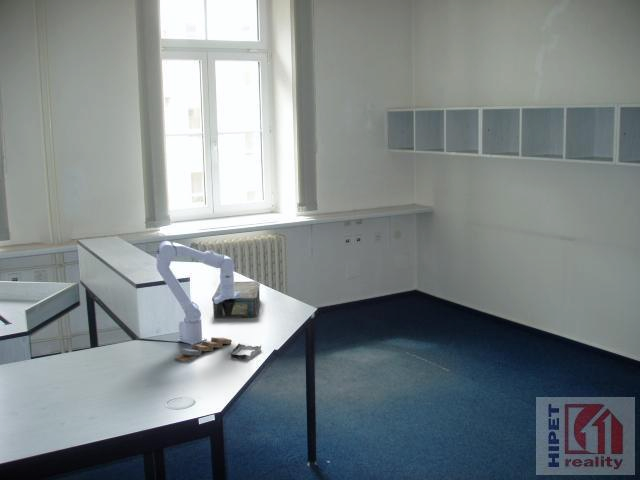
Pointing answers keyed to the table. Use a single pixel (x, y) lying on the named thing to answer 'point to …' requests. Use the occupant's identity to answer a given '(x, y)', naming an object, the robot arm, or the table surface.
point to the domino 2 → (190, 352)
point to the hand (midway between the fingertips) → (228, 316)
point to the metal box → (240, 301)
